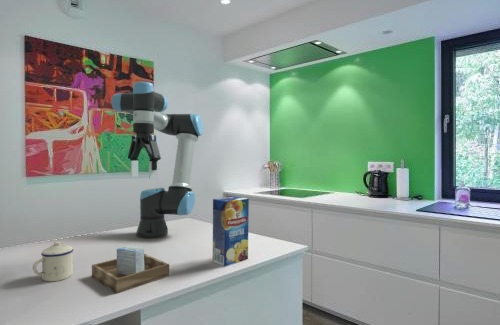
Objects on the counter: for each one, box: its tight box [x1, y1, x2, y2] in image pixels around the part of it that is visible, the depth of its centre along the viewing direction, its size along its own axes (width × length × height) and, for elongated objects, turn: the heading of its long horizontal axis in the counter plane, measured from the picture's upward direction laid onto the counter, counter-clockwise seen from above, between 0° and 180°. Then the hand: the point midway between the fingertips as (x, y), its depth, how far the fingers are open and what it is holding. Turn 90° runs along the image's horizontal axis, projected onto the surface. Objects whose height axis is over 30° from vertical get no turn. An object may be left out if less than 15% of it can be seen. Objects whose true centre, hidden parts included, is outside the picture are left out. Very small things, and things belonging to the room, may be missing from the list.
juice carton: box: [212, 196, 250, 267], centre depth 122 cm, size 12×8×24 cm, turn 134°
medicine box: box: [116, 244, 145, 275], centre depth 106 cm, size 8×4×9 cm, turn 71°
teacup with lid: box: [32, 240, 74, 282], centre depth 103 cm, size 12×9×12 cm
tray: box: [91, 253, 170, 294], centre depth 106 cm, size 18×18×4 cm
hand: (143, 177), depth 122 cm, fingers open, 13 cm apart
